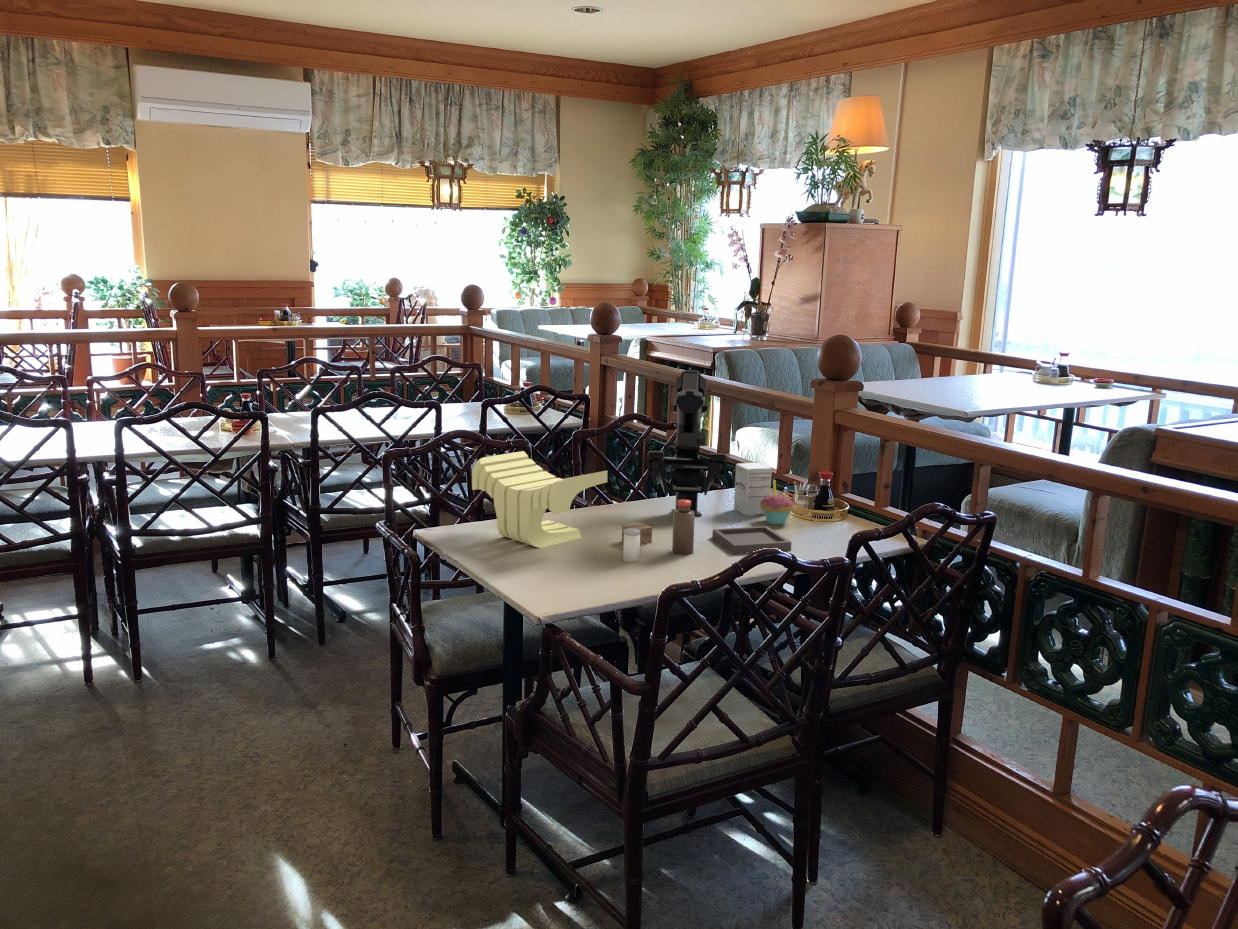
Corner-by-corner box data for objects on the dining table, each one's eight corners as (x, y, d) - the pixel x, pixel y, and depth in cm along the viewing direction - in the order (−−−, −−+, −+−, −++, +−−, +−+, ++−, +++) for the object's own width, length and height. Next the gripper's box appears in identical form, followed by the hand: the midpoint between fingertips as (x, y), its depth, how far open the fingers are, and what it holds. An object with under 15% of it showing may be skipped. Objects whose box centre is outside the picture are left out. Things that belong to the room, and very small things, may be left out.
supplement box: (733, 509, 260) (734, 463, 257) (758, 507, 262) (760, 461, 260) (744, 516, 253) (746, 468, 251) (770, 514, 255) (772, 467, 253)
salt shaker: (621, 557, 216) (622, 528, 214) (636, 556, 217) (637, 527, 215) (625, 562, 212) (626, 532, 211) (641, 561, 213) (642, 531, 212)
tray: (712, 537, 233) (712, 529, 232) (766, 533, 237) (766, 526, 236) (734, 554, 220) (734, 545, 219) (791, 550, 223) (791, 542, 223)
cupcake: (782, 528, 242) (785, 481, 240) (752, 522, 247) (754, 476, 245) (798, 521, 249) (801, 475, 246) (769, 515, 254) (771, 471, 251)
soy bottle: (669, 549, 222) (670, 498, 220) (689, 548, 223) (690, 497, 221) (676, 555, 218) (677, 504, 215) (696, 554, 219) (698, 503, 216)
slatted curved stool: (472, 531, 235) (471, 459, 231) (523, 519, 246) (523, 451, 242) (554, 559, 214) (555, 480, 210) (606, 545, 225) (607, 470, 221)
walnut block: (621, 541, 228) (622, 525, 228) (638, 538, 231) (639, 522, 231) (634, 546, 225) (634, 530, 224) (651, 543, 227) (651, 527, 227)
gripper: (648, 417, 227) (643, 472, 218) (728, 419, 225) (726, 476, 216) (649, 444, 236) (645, 498, 227) (726, 447, 234) (725, 502, 226)
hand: (685, 493), depth 224 cm, fingers open, 9 cm apart
